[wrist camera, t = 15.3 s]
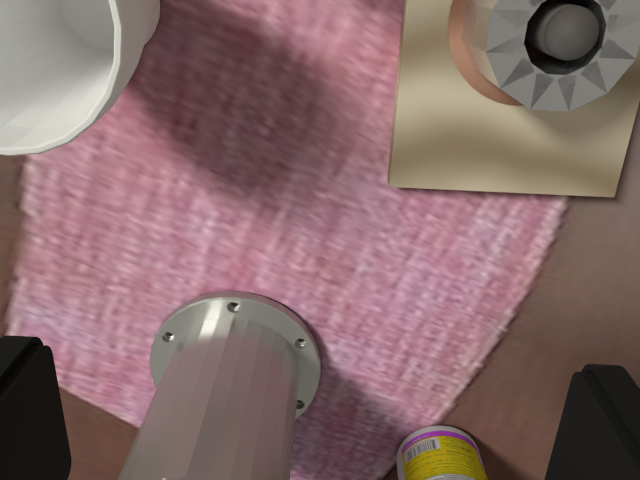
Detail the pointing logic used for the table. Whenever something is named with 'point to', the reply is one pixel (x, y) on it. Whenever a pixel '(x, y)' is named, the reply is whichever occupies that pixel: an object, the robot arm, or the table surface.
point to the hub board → (502, 112)
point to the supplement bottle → (439, 455)
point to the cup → (65, 66)
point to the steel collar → (542, 69)
